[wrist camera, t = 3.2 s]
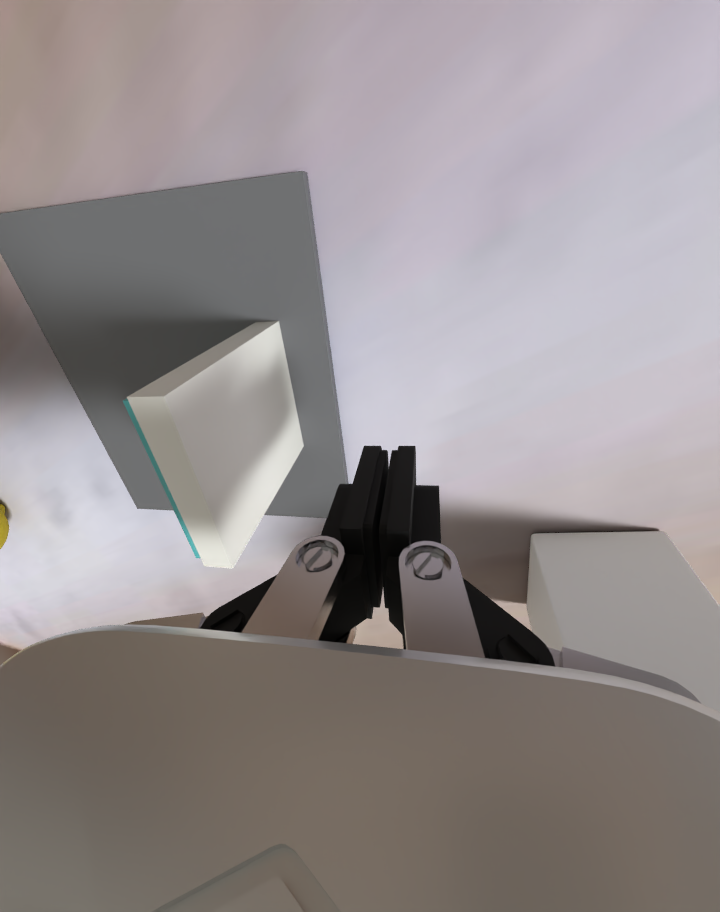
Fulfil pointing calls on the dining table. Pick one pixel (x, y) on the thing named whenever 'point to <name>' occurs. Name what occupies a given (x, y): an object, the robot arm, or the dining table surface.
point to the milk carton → (627, 605)
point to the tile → (222, 438)
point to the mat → (183, 309)
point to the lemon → (3, 526)
